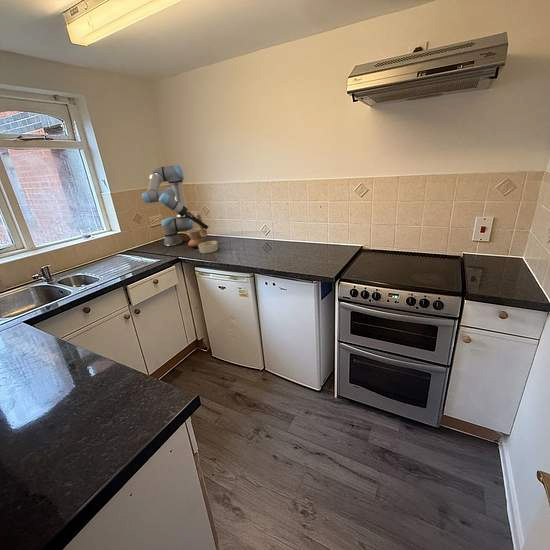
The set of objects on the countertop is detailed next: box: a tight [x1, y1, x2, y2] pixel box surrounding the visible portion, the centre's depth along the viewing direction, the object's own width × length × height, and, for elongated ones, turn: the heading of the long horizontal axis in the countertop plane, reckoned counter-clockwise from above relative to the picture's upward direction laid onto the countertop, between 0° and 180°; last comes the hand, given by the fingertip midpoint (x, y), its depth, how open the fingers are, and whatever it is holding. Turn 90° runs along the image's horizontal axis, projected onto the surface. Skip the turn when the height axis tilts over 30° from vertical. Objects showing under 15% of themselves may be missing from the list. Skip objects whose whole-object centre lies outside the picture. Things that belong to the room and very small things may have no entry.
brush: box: [196, 214, 208, 237], centre depth 224 cm, size 5×5×16 cm
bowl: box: [197, 240, 219, 255], centre depth 231 cm, size 15×15×6 cm
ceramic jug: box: [186, 227, 207, 249], centre depth 246 cm, size 18×14×14 cm
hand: (206, 227), depth 227 cm, fingers closed on brush, 3 cm apart
